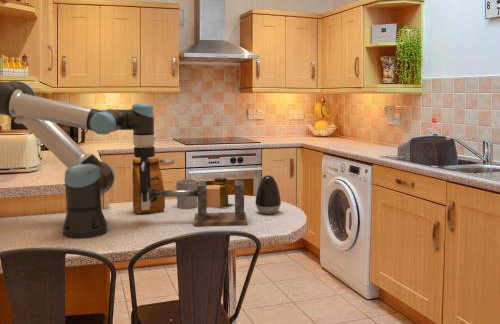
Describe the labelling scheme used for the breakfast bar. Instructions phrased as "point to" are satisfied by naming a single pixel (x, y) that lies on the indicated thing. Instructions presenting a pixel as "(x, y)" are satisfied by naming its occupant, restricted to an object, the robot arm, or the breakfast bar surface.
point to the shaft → (171, 193)
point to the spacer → (213, 196)
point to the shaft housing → (220, 218)
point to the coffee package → (156, 185)
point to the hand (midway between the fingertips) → (146, 208)
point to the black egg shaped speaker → (268, 196)
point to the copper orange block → (223, 192)
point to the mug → (187, 201)
